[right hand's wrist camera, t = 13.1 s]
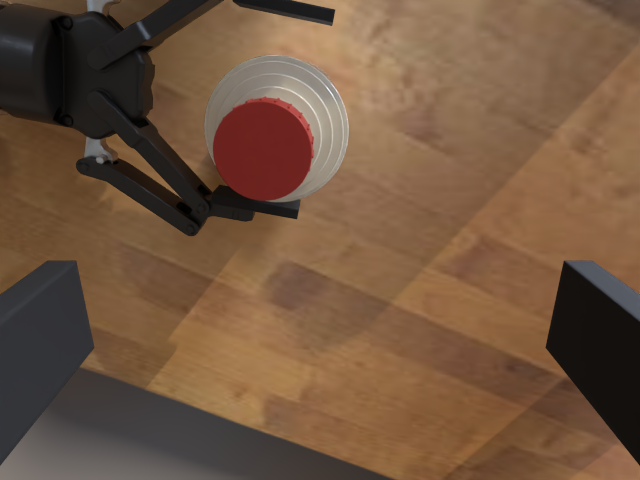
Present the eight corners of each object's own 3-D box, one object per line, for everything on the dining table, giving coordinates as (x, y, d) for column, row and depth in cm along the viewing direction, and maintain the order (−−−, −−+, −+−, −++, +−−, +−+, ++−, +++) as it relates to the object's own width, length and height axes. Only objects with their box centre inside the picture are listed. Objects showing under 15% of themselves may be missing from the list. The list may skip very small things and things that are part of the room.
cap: (333, 147, 20) (334, 156, 18) (267, 206, 21) (261, 221, 19) (269, 75, 19) (263, 76, 17) (203, 140, 20) (189, 149, 18)
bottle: (356, 109, 38) (393, 158, 18) (293, 166, 40) (262, 269, 20) (297, 39, 36) (264, 6, 16) (233, 102, 38) (132, 144, 18)
